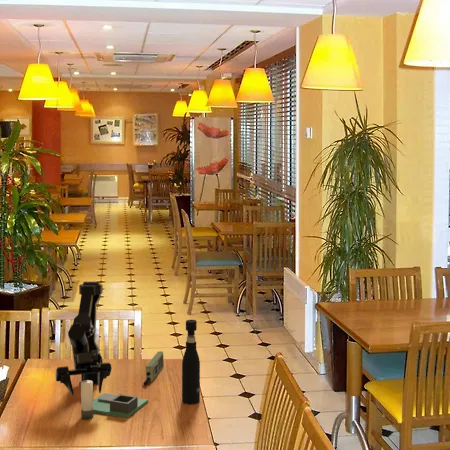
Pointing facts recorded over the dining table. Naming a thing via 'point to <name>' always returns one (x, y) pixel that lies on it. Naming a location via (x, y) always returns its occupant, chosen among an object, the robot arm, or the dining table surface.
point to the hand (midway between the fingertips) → (86, 394)
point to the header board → (117, 404)
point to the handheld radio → (154, 367)
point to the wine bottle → (191, 367)
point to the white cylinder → (87, 399)
